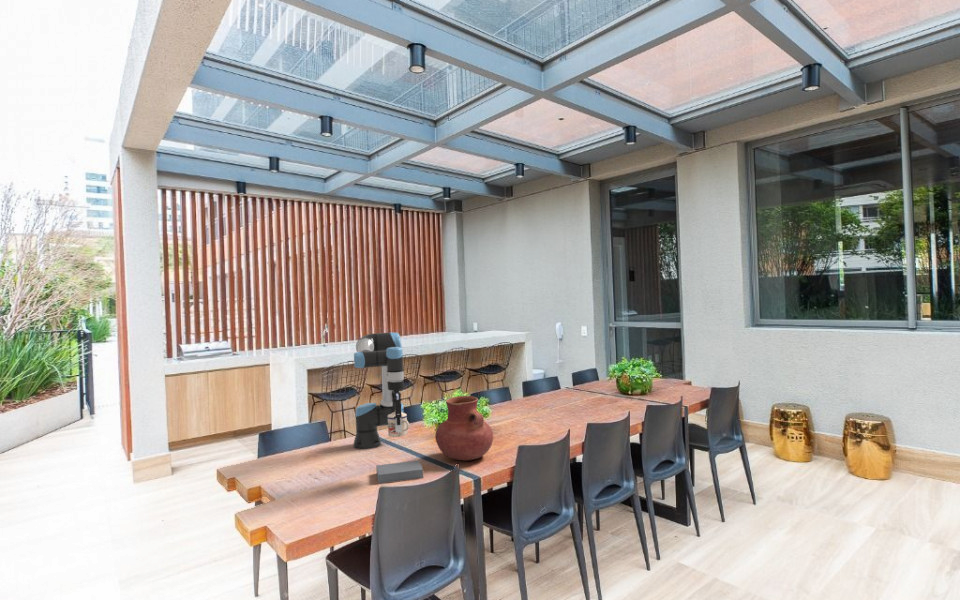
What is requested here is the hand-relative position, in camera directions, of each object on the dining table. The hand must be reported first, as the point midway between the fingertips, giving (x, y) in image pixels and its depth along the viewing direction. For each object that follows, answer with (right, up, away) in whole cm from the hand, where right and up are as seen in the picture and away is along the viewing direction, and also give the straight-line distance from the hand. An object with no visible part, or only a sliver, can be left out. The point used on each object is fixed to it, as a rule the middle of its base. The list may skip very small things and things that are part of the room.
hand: (397, 429), depth 232 cm
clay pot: (+31, -21, +24) cm, 44 cm away
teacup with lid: (+1, -3, -1) cm, 3 cm away
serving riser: (+1, -21, 0) cm, 21 cm away
